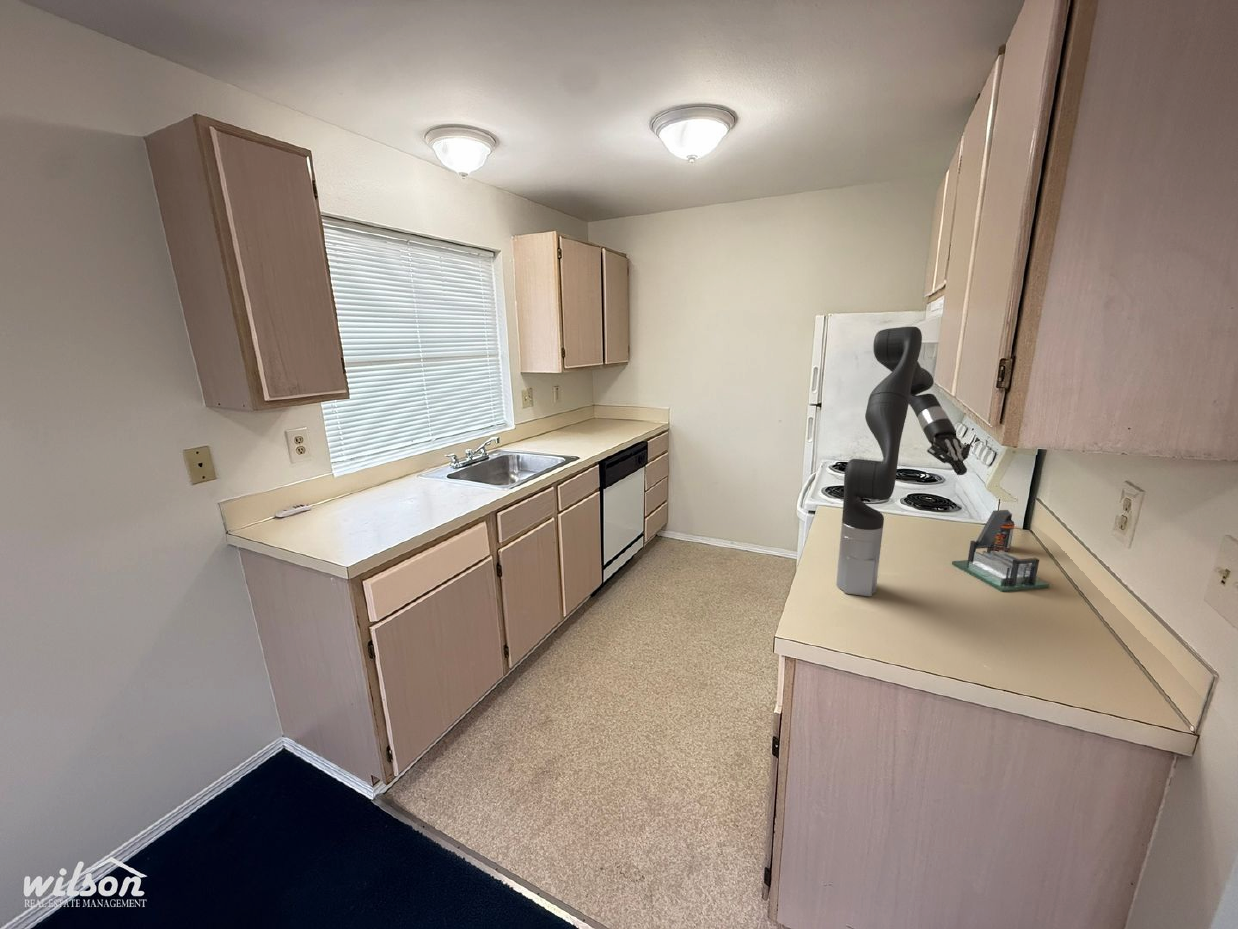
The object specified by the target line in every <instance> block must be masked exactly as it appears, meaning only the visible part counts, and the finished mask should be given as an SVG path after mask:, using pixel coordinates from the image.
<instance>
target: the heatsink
mask: <svg viewBox="0 0 1238 929" xmlns="http://www.w3.org/2000/svg"><path fill="white" fill-rule="evenodd" d="M969 544H970V545H969V550H968V551H969V552H968V556H967V559H965V560H963V559H962V560H952V562H951V565H952V566H954V567H956V568H957V569H959V570H961V571H963V570H964V571H963V572H964V573H966V572H967V574H968V573H969V575H970V576H972V577H974V578H976V579H977V578H978V580H979V579H980V581H981V582H983V583H985V584H987V585H988V584H989V587H993V589H996V590H998V591H1000V592H1001V593H1003V592H1014V591H1015V592H1016V591H1026V590H1027V589H1028V590H1036V589H1037V590H1038V589H1039V590H1040V589H1048V588H1049V586H1050V583H1047V582H1045V581H1043V580H1042V579H1039V578H1038V569H1039V566H1040V565H1039V564H1040V559H1038V558H1037V557H1032V558H1031V557H1029V558H1020V557H1017V556H1015V555H1013V554H1011V553H1008V552H1007V551H1002V550H999V551H996V550H994V545H995V541H993V542H992V544H991V547H990V548H986V551H982V553H980V552H978V551H977V549H976V546H977V542H976V540H970V543H969Z"/></svg>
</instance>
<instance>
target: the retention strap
mask: <svg viewBox="0 0 1238 929" xmlns="http://www.w3.org/2000/svg"><path fill="white" fill-rule="evenodd" d="M1009 513H1011V512H1010V511H1009V509H999V510H996V509H995V510H992V512H991V514H990V516H989V518H988V519H987V521H986V523H985V525H984V526H983V529H982V530H981V532H980V534H979V535H978V537H977V539H976V540H975V542H977V546H976V550H977V549H978V550H979V549H987V548H990V547H991V544H992V542H993V541H994V539H995V537H996V536H997V534H998V532H999V530H1000V529H1001V527H1002V525H1003V524H1004V522H1005V520H1006V518H1007V517H1008V515H1009Z"/></svg>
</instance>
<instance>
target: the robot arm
mask: <svg viewBox="0 0 1238 929" xmlns="http://www.w3.org/2000/svg"><path fill="white" fill-rule="evenodd" d="M922 343H923V334H922V331H921V329H920V328H919V327H917V326H912V325H911V326H901V327H900V326H899V327H891V328H890V327H889V328H885V329H880V330H879V331H877V333H876V334H875V336H874V340H873V348H872V349H873V355H874V357H875V359H876V361H877V362H879V364H880V365H882V366H883V367H885V368H886V369H887V370H889V371H890V373H889V374H888V375H887V376H886V377H884V379H883V380H881V381H880V382H879V383H878V384H877V385H876V386H875V388H873V389H872V391H871V393H870V394H869V398H868V401H867V405H866V410H865V414H864V415H865V421H866V424H867V427H868V428H869V430H870V432H871V433H872V435H873V436H874V438H875V439H876V441H877V443H878V446H879V448H880V450H881V454H882V458H883V459H882V460H871V459H860V458H851V459H850V460H849V461H847V464H846V465H845V469H844V470H845V471H844V475H843V477H844V478H843V503H842V505H843V506H842V515H841V518H842V519H841V530H840V539H839V550H838V558H837V559H838V562H837V569H836V570H837V572H836V584H835V585H836V587H838V588H839V589H840V591H841V590H842V591H843V593H844V594H849V595H856V596H862V597H863V596H864V597H870V598H871V597H872V596H873V594H875V593H877V587H878V586H877V585H878V578H879V576H878V575H879V568H880V567H879V566H880V558H881V557H880V556H881V549H882V540H883V534H884V532H883V530H884V524H885V517H884V514H883V513H882V512H880V511H879V510H877V509H875V508H873V507H871V506H869V505H868V504H866V503H864V501H863V500H862V499H861V498H863V499H869V500H870V499H871V500H879V501H886V500H887V501H888V500H889V499H890V498H891V497H892V496H893V493H894V490H895V485H896V480H897V473H898V472H897V471H898V464H899V463H898V462H899V455H900V446H901V441H902V437H903V431H904V428H905V422H906V418H907V415H908V409H909V406H910V407H911V409H912V411H913V412H914V414H915V416H916V418H917V420H918V424H919V426H920V428H921V429H922V432H923V434H924V435H925V437H926V439H927V442H928V443H930V445H931V446H929V448H928V449H927V450H926V452H927V453H928V454H929V455H931V456H933V457H934V458H935V459H937V460H938V461H940V462H942V463H943V464H949V465H950V466H951V468H952V470H953V471H954V472H953V473H955V474H956V475H957V476H963V475H965V474H966V473H968V468H967V466H966V465H965V463H964V461H966V460H967V459H968V458H969V453H970V450H971V444H970V443H966V444H964V443H963V442H962V441H961V439H960V438H959V437H958V436H957V429H956V428H955V426H954V424H953V423H952V421H951V419H950V417H949V415H948V414H947V413H946V411H945V410H944V409H943V406H942V405H941V403H940V402H939V399H937V396H936V395H935V394H933V393H924V392H926V391H928V390H930V389H931V388H932V387H933V386H934V377H933V375H932V374H931V373H930V372H929V371H928V370H927V369H925V368H923V367H921V364H920V362H919V361H918V360H919V357H920V353H921V350H922ZM921 393H923V394H921Z"/></svg>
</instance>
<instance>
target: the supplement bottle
mask: <svg viewBox="0 0 1238 929" xmlns="http://www.w3.org/2000/svg"><path fill="white" fill-rule="evenodd" d="M1012 517H1013V513H1011V512H1010V513H1009V515H1008V517H1007V518H1006V520H1005V522H1004V524H1003V525H1002V527H1001V529H1000V530H999V532H998V534H997V536H996V537H995V539H994V541H995V545H994V551H995V552H999V550H1002V551H1004V552H1008V551H1010V550H1011V546H1012V539H1013V534H1014V529H1015V521H1014V520H1013V518H1012Z"/></svg>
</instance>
